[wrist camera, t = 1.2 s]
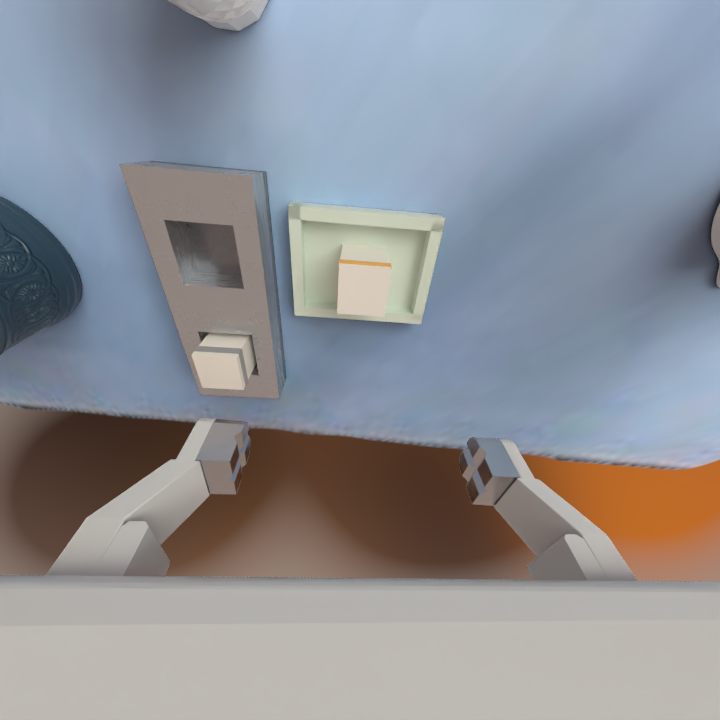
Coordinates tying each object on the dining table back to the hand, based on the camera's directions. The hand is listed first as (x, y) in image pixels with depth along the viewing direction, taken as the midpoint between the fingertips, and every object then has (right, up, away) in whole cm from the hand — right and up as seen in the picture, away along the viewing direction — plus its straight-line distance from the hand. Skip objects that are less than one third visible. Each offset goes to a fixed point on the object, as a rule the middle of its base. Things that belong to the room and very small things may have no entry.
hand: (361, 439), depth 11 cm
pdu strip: (-13, +10, +19) cm, 25 cm away
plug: (0, +12, +17) cm, 21 cm away
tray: (0, +12, +18) cm, 21 cm away
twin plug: (-13, +5, +21) cm, 26 cm away
